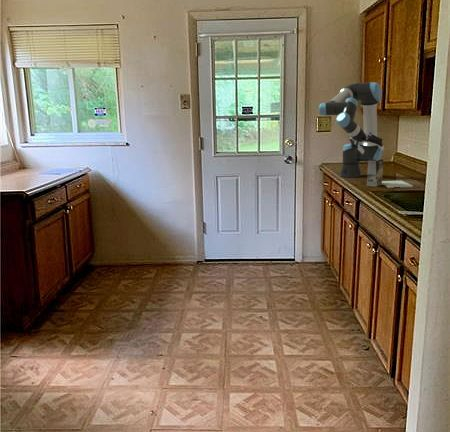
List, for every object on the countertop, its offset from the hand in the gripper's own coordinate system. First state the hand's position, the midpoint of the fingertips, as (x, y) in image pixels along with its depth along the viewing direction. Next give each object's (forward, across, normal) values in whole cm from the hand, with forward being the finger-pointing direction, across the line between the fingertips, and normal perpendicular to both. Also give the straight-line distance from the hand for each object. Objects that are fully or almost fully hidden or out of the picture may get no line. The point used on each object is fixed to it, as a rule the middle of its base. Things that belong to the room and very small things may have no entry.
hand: (373, 150), depth 281 cm
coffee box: (+14, -3, -17) cm, 22 cm away
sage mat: (+22, +6, -13) cm, 26 cm away
